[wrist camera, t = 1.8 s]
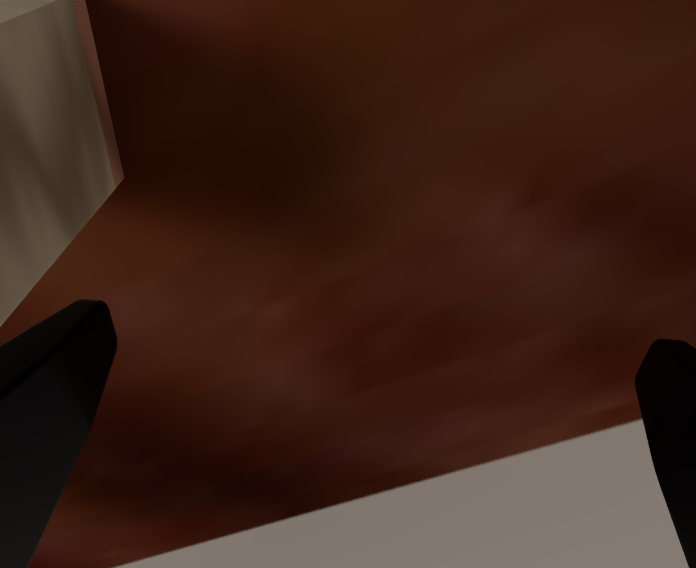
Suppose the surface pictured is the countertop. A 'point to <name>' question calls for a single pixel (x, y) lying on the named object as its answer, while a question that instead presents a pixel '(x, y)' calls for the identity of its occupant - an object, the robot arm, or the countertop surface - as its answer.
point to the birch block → (49, 138)
